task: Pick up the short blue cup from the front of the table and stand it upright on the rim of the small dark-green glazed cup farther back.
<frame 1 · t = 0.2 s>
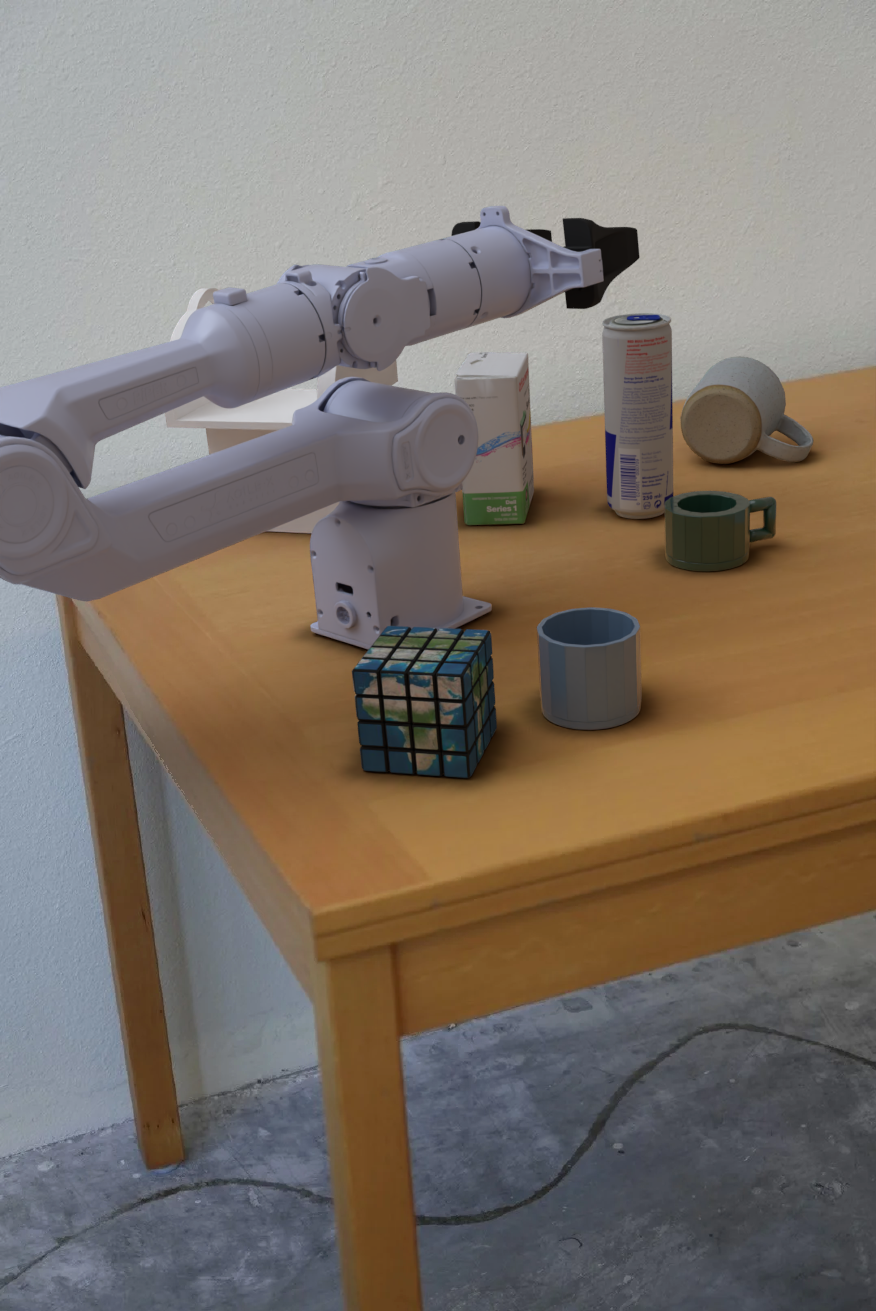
hand: (590, 244, 101), 21 cm above the table, tool horizontal, fingers open, 7 cm apart
blue cup: (590, 708, 83), on the table
beverage can: (640, 513, 115), on the table
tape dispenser: (298, 519, 120), on the table
ceramic mug: (747, 457, 126), on the table
ink box: (500, 510, 118), on the table
green mug: (706, 557, 104), on the table
puzzle: (431, 753, 80), on the table
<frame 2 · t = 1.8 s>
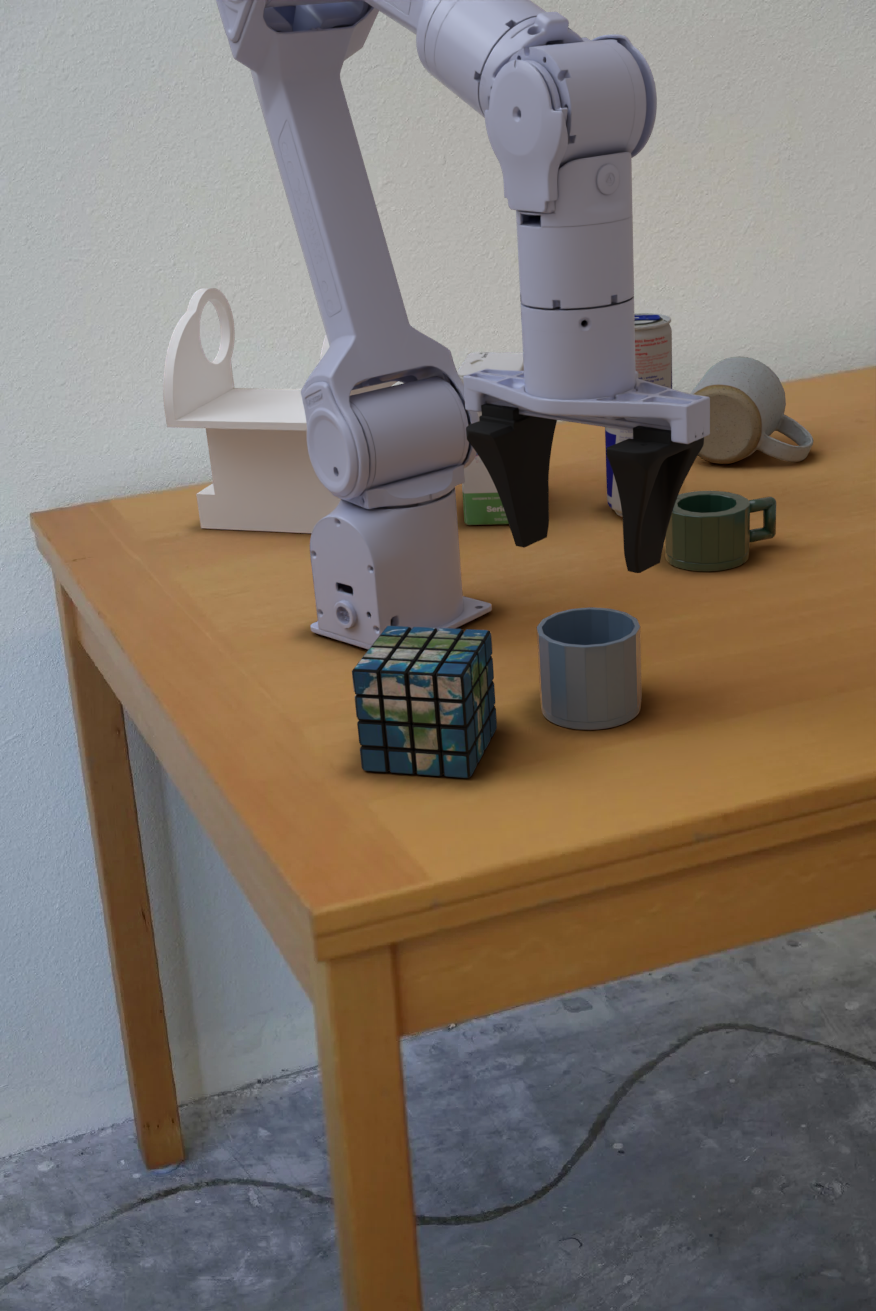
hand: (585, 553, 80), 9 cm above the table, tool pointing down, fingers open, 7 cm apart
nothing on the table moved.
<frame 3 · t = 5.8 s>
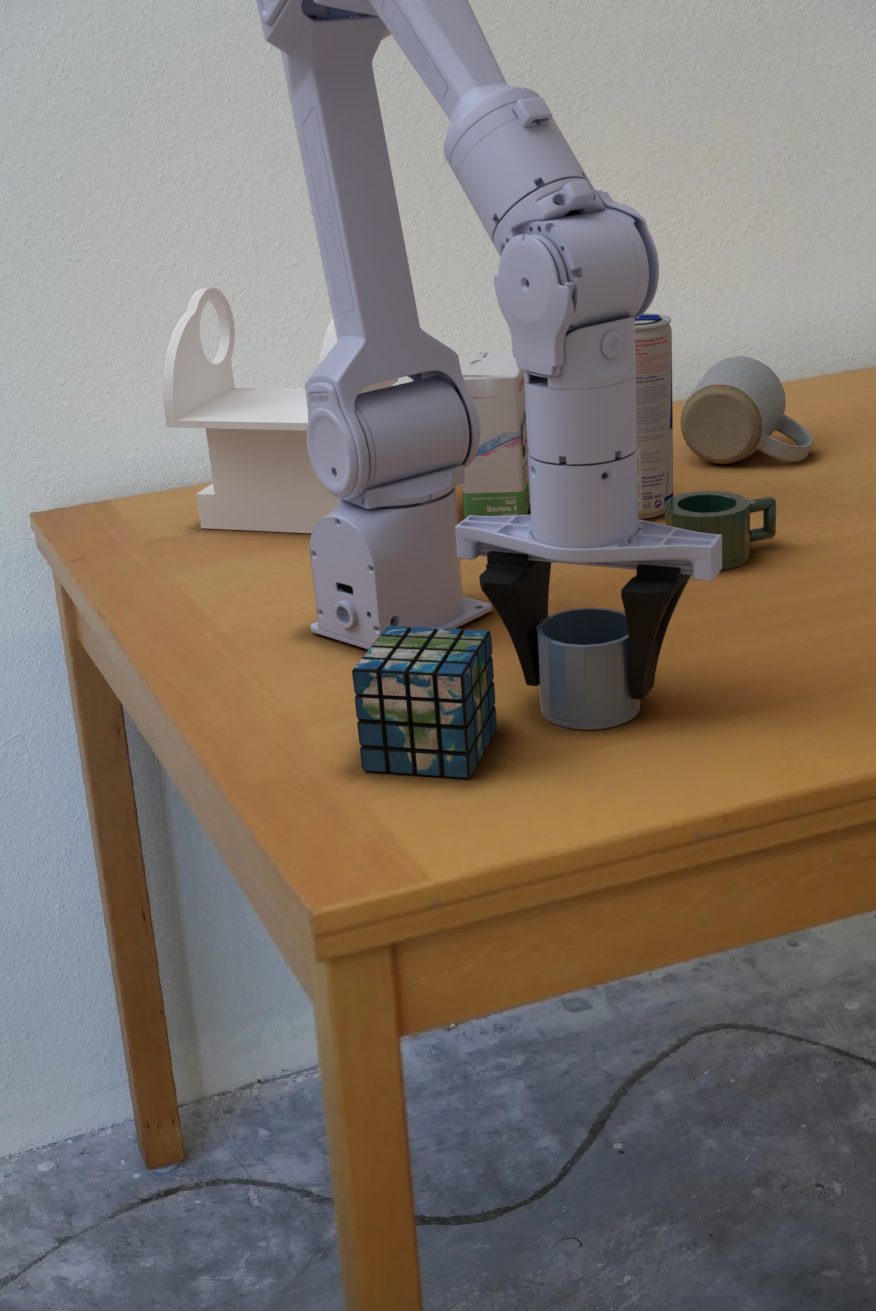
hand: (590, 685, 83), 1 cm above the table, tool pointing down, fingers closed on blue cup, 5 cm apart
blue cup: (590, 707, 83), on the table, touching gripper
everything else where it was.
when the fingers open (5 cm above the table, at t = 10.2 s): blue cup stays where it is, resting on green mug.
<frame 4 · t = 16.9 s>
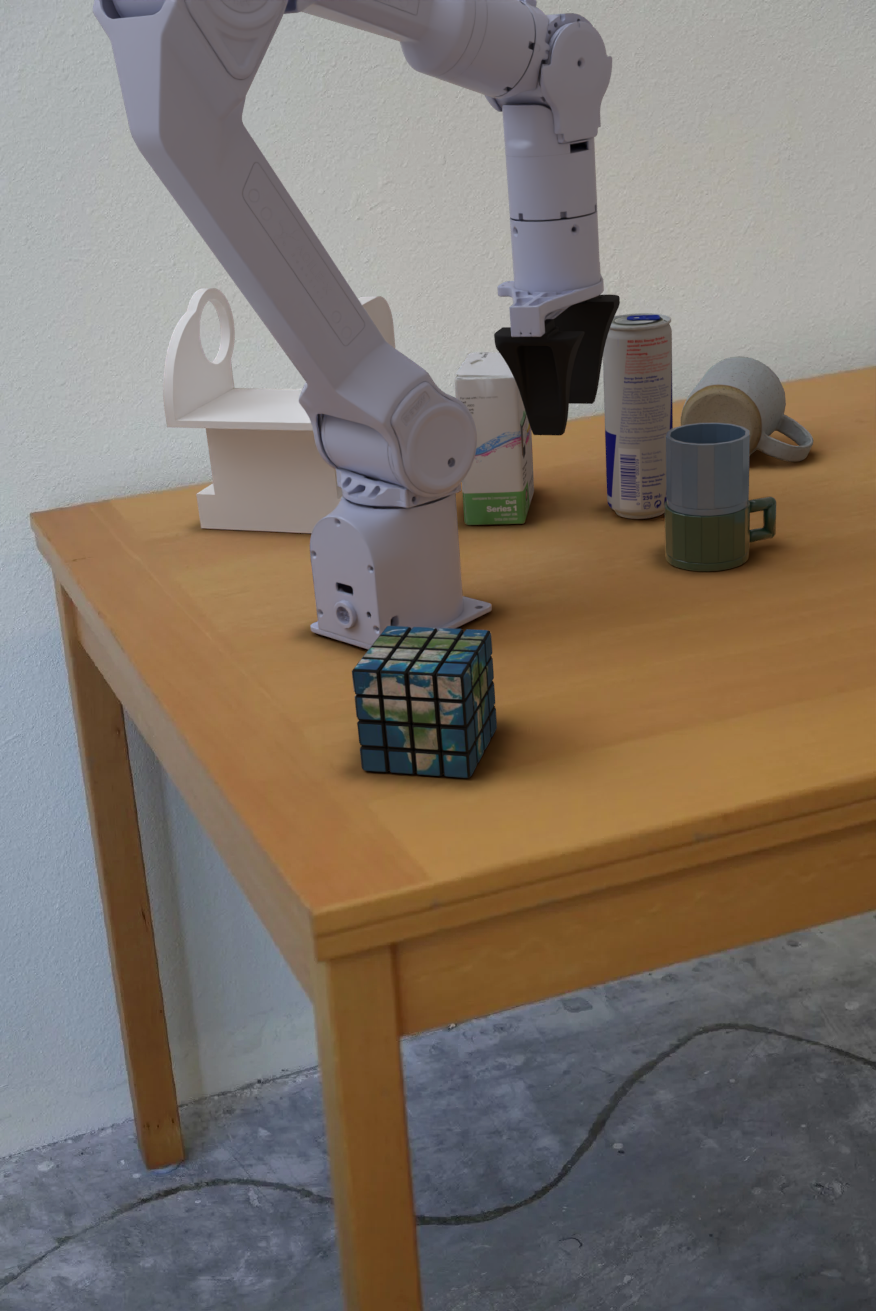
hand: (564, 417, 102), 10 cm above the table, tool pointing down, fingers open, 7 cm apart
blue cup: (707, 503, 103), point 4 cm above the table, touching green mug
green mug: (706, 557, 104), on the table, touching blue cup
everything else where it was.
at the end: blue cup 0.1 cm off-centre on the green mug, point 4.0 cm above the green mug's base; blue cup tilted 0°; the gripper is holding nothing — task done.
